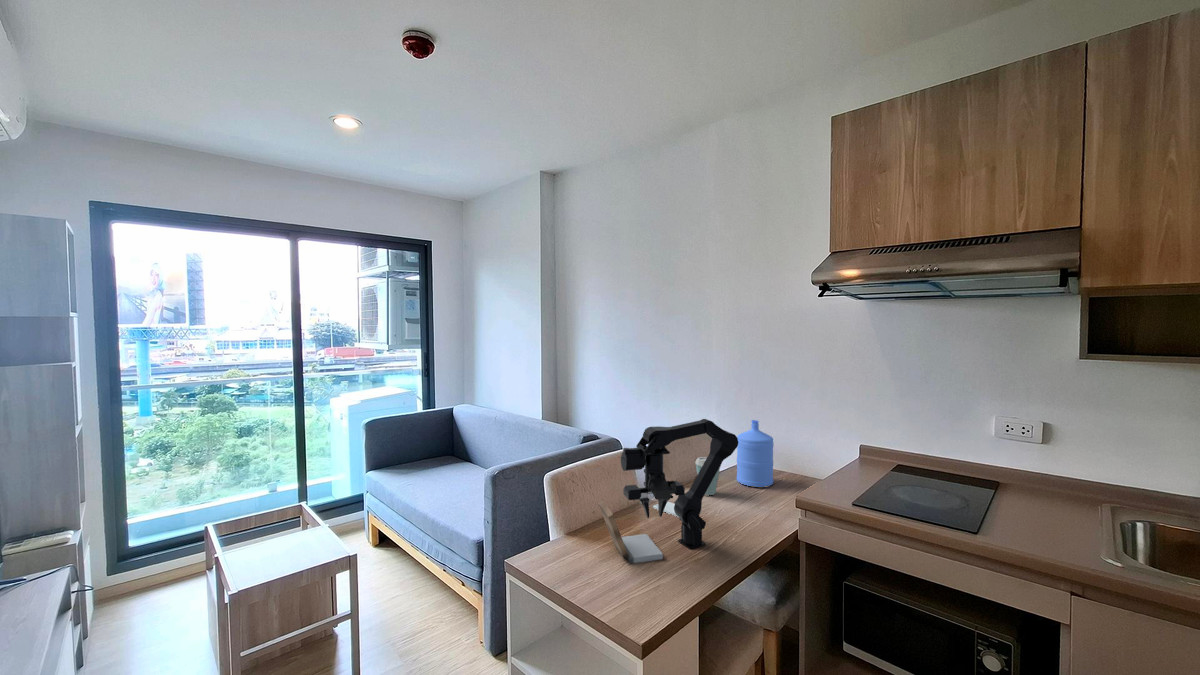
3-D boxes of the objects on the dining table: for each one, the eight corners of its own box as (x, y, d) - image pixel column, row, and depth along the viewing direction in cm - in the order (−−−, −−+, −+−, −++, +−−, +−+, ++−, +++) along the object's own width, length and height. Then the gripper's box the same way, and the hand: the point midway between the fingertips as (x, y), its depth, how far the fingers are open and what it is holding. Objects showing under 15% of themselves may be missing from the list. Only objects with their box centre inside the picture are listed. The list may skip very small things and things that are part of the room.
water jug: (768, 491, 198) (768, 425, 197) (732, 484, 206) (732, 422, 206) (776, 481, 211) (777, 419, 210) (742, 475, 219) (742, 416, 219)
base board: (646, 538, 153) (646, 533, 153) (662, 559, 140) (662, 553, 140) (616, 542, 150) (616, 537, 150) (630, 563, 137) (630, 558, 137)
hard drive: (652, 505, 179) (679, 514, 170) (665, 500, 185) (691, 508, 176) (652, 510, 179) (679, 519, 170) (665, 504, 185) (691, 512, 176)
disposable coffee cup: (701, 487, 202) (701, 453, 202) (725, 492, 196) (725, 457, 195) (690, 494, 193) (691, 459, 193) (715, 500, 187) (715, 463, 187)
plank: (612, 541, 149) (617, 538, 149) (623, 559, 137) (628, 556, 138) (597, 502, 148) (602, 500, 148) (608, 517, 136) (613, 514, 136)
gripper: (634, 478, 136) (634, 531, 136) (692, 473, 140) (692, 524, 141) (622, 467, 146) (623, 516, 147) (677, 463, 151) (677, 510, 151)
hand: (654, 517), depth 146 cm, fingers open, 4 cm apart
